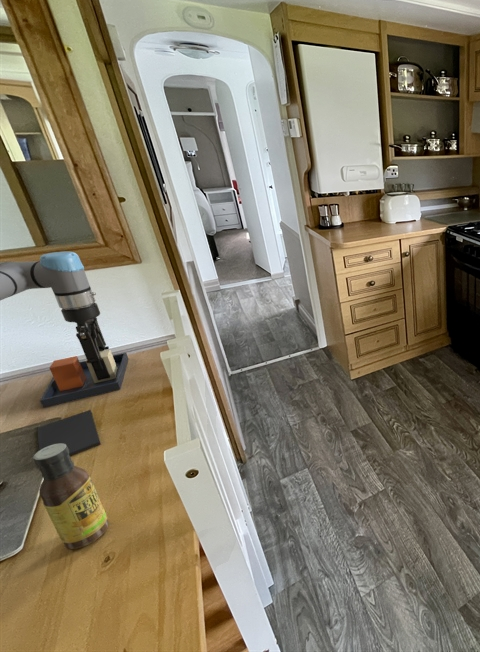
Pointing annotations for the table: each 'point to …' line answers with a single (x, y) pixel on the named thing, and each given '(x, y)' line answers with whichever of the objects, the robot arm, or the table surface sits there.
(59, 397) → the tray
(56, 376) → the rust block
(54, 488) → the sauce bottle
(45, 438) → the mat
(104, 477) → the table surface
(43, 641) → the table surface
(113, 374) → the cream block
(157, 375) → the table surface
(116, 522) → the table surface
